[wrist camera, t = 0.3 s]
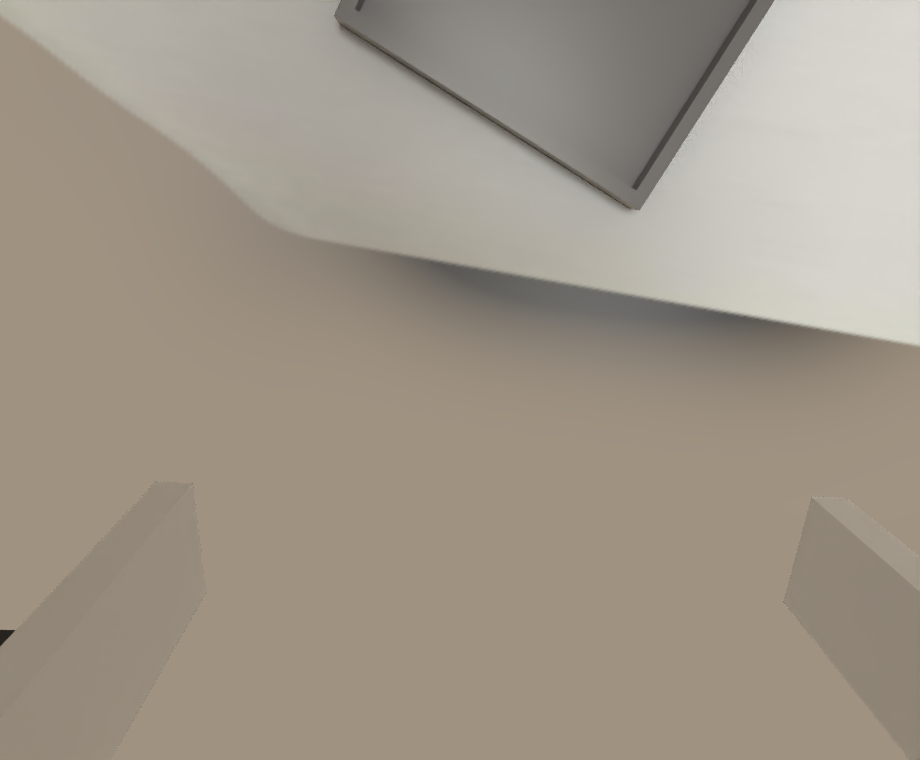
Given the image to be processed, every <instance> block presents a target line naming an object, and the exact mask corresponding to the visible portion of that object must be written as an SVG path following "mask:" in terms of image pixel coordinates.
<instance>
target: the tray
mask: <svg viewBox="0 0 920 760" xmlns="http://www.w3.org/2000/svg"><path fill="white" fill-rule="evenodd" d="M773 2H774V0H341V1H340V4H339V6H338V8H337V10H336V12H335V15H334V16H335V17H336V19H337V20H338V22H339V23H340V25H342V26H343V27H345V28H346V29H348V30H350V31H351V32H353V33H354V34H356V35H357V36H359V37H361V38H362V39H364V40H365V41H367V42H368V43H370V44H372V45H373V46H375V47H376V48H378V49H379V50H381V51H383V52H384V53H386V54H387V55H389V56H390V57H392V58H394V59H395V60H397V61H398V62H400V63H401V64H403V65H405V66H406V67H408V68H409V69H411V70H412V71H414V72H416V73H417V74H419V75H420V76H422V77H424V78H425V79H427V80H428V81H430V82H431V83H433V84H435V85H436V86H438V87H439V88H441V89H442V90H444V91H446V92H447V93H449V94H450V95H452V96H453V97H455V98H457V99H458V100H460V101H461V102H463V103H464V104H466V105H468V106H469V107H471V108H472V109H474V110H475V111H477V112H479V113H480V114H482V115H483V116H485V117H486V118H488V119H490V120H491V121H493V122H494V123H496V124H497V125H499V126H501V127H502V128H504V129H505V130H507V131H508V132H510V133H512V134H513V135H515V136H516V137H518V138H519V139H521V140H523V141H524V142H526V143H527V144H529V145H530V146H532V147H534V148H535V149H537V150H538V151H540V152H541V153H543V154H545V155H546V156H548V157H549V158H551V159H552V160H554V161H556V162H557V163H559V164H560V165H562V166H563V167H565V168H567V169H568V170H570V171H571V172H573V173H574V174H576V175H578V176H579V177H581V178H582V179H584V180H585V181H587V182H589V183H590V184H592V185H593V186H595V187H596V188H598V189H600V190H601V191H603V192H604V193H606V194H608V195H609V196H611V197H612V198H614V199H615V200H617V201H619V202H620V203H622V204H623V205H625V206H626V207H628V208H630V209H636V210H640V209H641V207H642V206H643V204H644V203H645V201H646V199H647V198H648V196H649V195H650V193H651V192H652V190H653V189H654V187H655V185H656V184H657V182H658V181H659V179H660V178H661V176H662V175H663V173H664V171H665V170H666V168H667V167H668V165H669V164H670V162H671V161H672V159H673V157H674V156H675V154H676V153H677V151H678V150H679V148H680V147H681V145H682V143H683V142H684V140H685V139H686V137H687V136H688V134H689V133H690V131H691V129H692V128H693V126H694V125H695V123H696V122H697V120H698V119H699V117H700V115H701V114H702V112H703V111H704V109H705V108H706V106H707V104H708V103H709V101H710V100H711V98H712V97H713V95H714V94H715V92H716V90H717V89H718V87H719V86H720V84H721V83H722V81H723V80H724V78H725V76H726V75H727V73H728V72H729V70H730V69H731V67H732V66H733V64H734V62H735V61H736V59H737V58H738V56H739V55H740V53H741V52H742V50H743V48H744V47H745V45H746V44H747V42H748V41H749V39H750V38H751V36H752V34H753V33H754V31H755V30H756V28H757V27H758V25H759V24H760V22H761V20H762V19H763V17H764V16H765V14H766V13H767V11H768V10H769V8H770V6H771V5H772V3H773Z"/></svg>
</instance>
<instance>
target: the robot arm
mask: <svg viewBox="0 0 920 760" xmlns="http://www.w3.org/2000/svg"><path fill="white" fill-rule="evenodd" d="M205 594H206V587H205V579H204V570H203V562H202V555H201V546H200V537H199V529H198V521H197V513H196V504H195V496H194V487H193V483H178V482H177V483H176V482H155V483H154V484H153V485H152V486H151V487H150V488H149V489H148V490H147V491H146V492H145V493H144V494H143V495H142V497H141V498H140V499H139V500H138V501H137V502H136V503H135V504H134V505H133V506H132V507H131V508H130V509H129V511H128V512H127V513H126V514H125V515H124V516H123V517H122V518H121V519H120V520H119V521H118V522H117V523H116V524H115V525H114V526H113V527H112V528H111V529H110V531H109V532H108V533H107V534H106V535H105V536H104V537H103V538H102V539H101V540H100V541H99V542H98V543H97V544H96V545H95V547H94V548H93V549H92V550H91V551H90V552H89V553H88V554H87V555H86V556H85V557H84V558H83V559H82V560H81V561H80V562H79V564H78V565H77V566H76V567H75V568H74V569H73V570H72V571H71V572H70V573H69V574H68V575H67V576H66V577H65V578H64V579H63V580H62V582H61V583H60V584H59V585H58V586H57V587H56V588H55V589H54V590H53V591H52V592H51V593H50V594H49V595H48V596H47V597H46V598H45V600H44V601H43V602H42V603H41V604H40V605H39V606H38V607H37V608H36V609H35V610H34V611H33V613H32V614H31V615H29V617H28V618H27V619H26V620H25V621H24V622H23V623H22V624H21V625H20V626H19V627H18V628H17V629H16V630H0V760H111V759H112V758H113V756H114V754H115V752H116V751H117V749H118V747H119V745H120V743H121V742H122V740H123V738H124V736H125V735H126V733H127V731H128V729H129V728H130V726H131V724H132V722H133V721H134V719H135V717H136V715H137V714H138V712H139V710H140V708H141V707H142V705H143V703H144V701H145V700H146V698H147V696H148V694H149V692H150V691H151V689H152V687H153V685H154V684H155V682H156V680H157V678H158V677H159V675H160V673H161V671H162V670H163V668H164V666H165V664H166V662H167V661H168V659H169V657H170V656H171V654H172V652H173V650H174V649H175V647H176V645H177V643H178V642H179V640H180V638H181V636H182V634H183V633H184V631H185V629H186V627H187V626H188V624H189V622H190V620H191V619H192V617H193V615H194V613H195V612H196V610H197V608H198V606H199V605H200V603H201V601H202V599H203V598H204V596H205ZM783 602H784V604H785V605H786V606H787V607H788V609H789V610H790V611H791V612H792V613H793V615H794V616H795V617H796V619H797V620H798V621H799V622H800V624H801V625H802V626H803V627H804V629H805V630H806V631H807V632H808V634H809V635H810V636H811V637H812V639H813V640H814V641H815V643H816V644H817V645H818V646H819V648H821V650H822V651H823V652H824V654H825V655H826V656H827V657H828V659H829V660H830V661H831V663H832V664H833V665H834V666H835V668H836V669H837V670H838V671H839V672H840V674H841V675H842V676H843V678H844V679H845V680H846V681H847V683H848V684H849V685H850V686H851V688H852V689H853V690H854V691H855V692H856V694H857V695H858V696H859V698H860V699H861V700H862V701H863V703H864V704H865V705H866V706H867V707H868V709H869V710H870V711H871V713H872V714H873V715H874V716H875V718H876V719H877V720H878V721H879V723H880V724H881V725H882V726H883V728H884V729H885V730H886V731H887V733H888V734H889V735H890V736H891V738H892V739H893V740H894V741H895V743H896V744H897V745H898V746H899V748H900V749H901V750H902V751H903V753H904V754H905V755H906V756H907V758H908V759H909V760H920V557H919V556H918V555H917V554H916V553H914V552H913V551H912V550H911V549H909V548H908V547H907V546H906V545H904V544H903V543H902V542H900V541H899V540H898V539H897V538H896V537H894V536H893V535H892V534H891V533H889V532H888V531H887V530H885V529H884V528H883V527H882V526H880V525H879V524H878V523H877V522H875V521H874V520H873V519H872V518H870V517H869V516H868V515H867V514H866V513H864V512H863V511H862V510H860V509H859V508H858V507H857V506H856V505H854V504H853V503H852V502H851V501H849V500H848V499H847V498H827V497H826V498H825V497H812V498H811V501H810V505H809V508H808V512H807V516H806V520H805V523H804V527H803V530H802V534H801V538H800V542H799V545H798V549H797V553H796V556H795V560H794V564H793V567H792V572H791V575H790V579H789V582H788V586H787V590H786V593H785V597H784V601H783Z"/></svg>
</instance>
